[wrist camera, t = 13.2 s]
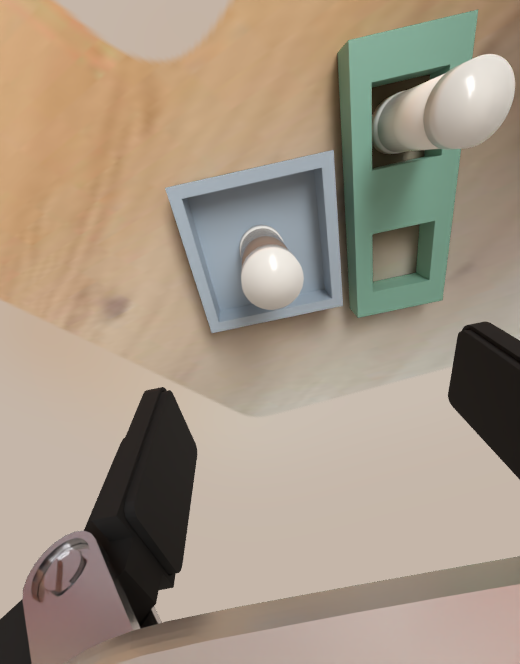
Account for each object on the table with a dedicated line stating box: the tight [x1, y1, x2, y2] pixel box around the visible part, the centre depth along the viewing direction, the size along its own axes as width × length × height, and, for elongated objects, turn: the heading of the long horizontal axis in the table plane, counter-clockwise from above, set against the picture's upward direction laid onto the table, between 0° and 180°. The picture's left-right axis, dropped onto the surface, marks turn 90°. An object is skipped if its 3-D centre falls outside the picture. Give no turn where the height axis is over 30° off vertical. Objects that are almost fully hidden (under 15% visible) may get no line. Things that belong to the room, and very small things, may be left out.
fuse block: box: [338, 10, 478, 318], centre depth 27 cm, size 22×9×2 cm, turn 11°
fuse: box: [372, 54, 515, 154], centre depth 21 cm, size 4×4×10 cm
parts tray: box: [165, 150, 343, 333], centre depth 27 cm, size 13×13×4 cm
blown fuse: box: [240, 224, 304, 310], centre depth 24 cm, size 4×4×10 cm
